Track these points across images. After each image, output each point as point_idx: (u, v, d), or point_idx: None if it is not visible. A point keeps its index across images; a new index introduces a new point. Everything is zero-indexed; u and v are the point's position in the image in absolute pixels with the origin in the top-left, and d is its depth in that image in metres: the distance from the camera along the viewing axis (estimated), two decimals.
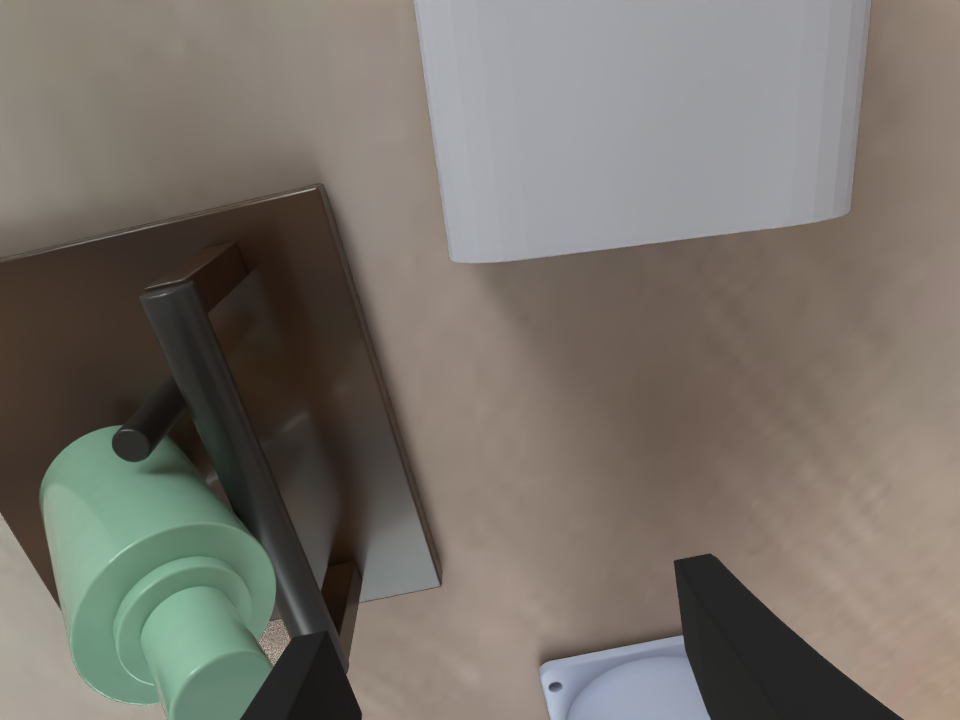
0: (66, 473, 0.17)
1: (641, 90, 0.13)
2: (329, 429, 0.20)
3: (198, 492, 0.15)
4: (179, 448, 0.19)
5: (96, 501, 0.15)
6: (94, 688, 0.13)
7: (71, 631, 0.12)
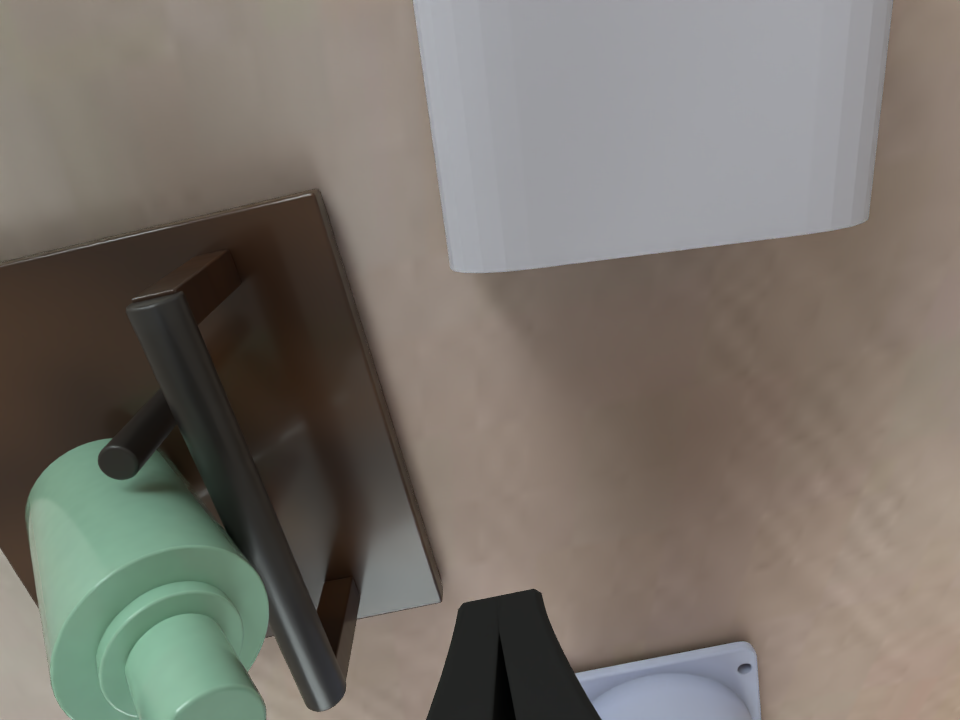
0: (52, 489, 0.16)
1: (651, 92, 0.12)
2: (326, 441, 0.20)
3: (188, 511, 0.15)
4: (171, 462, 0.19)
5: (81, 521, 0.14)
6: None
7: (51, 662, 0.12)
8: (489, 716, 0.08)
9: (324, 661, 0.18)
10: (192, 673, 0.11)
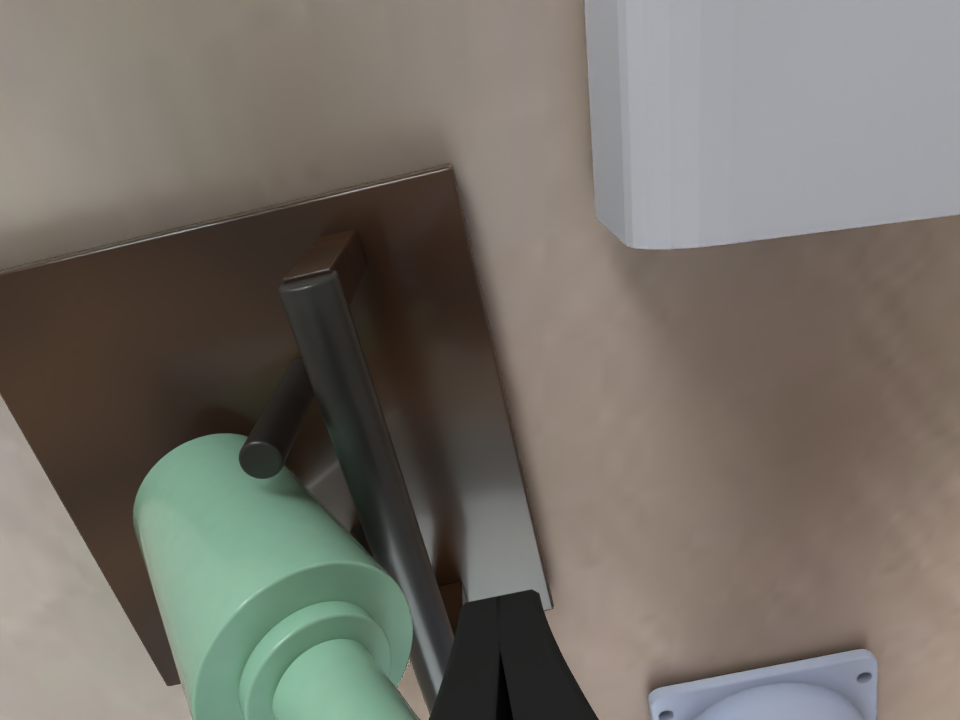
0: (167, 488, 0.15)
1: (882, 44, 0.11)
2: (444, 438, 0.18)
3: (322, 519, 0.13)
4: None
5: (209, 527, 0.13)
6: None
7: (194, 690, 0.10)
8: (492, 716, 0.08)
9: None
10: (362, 715, 0.09)
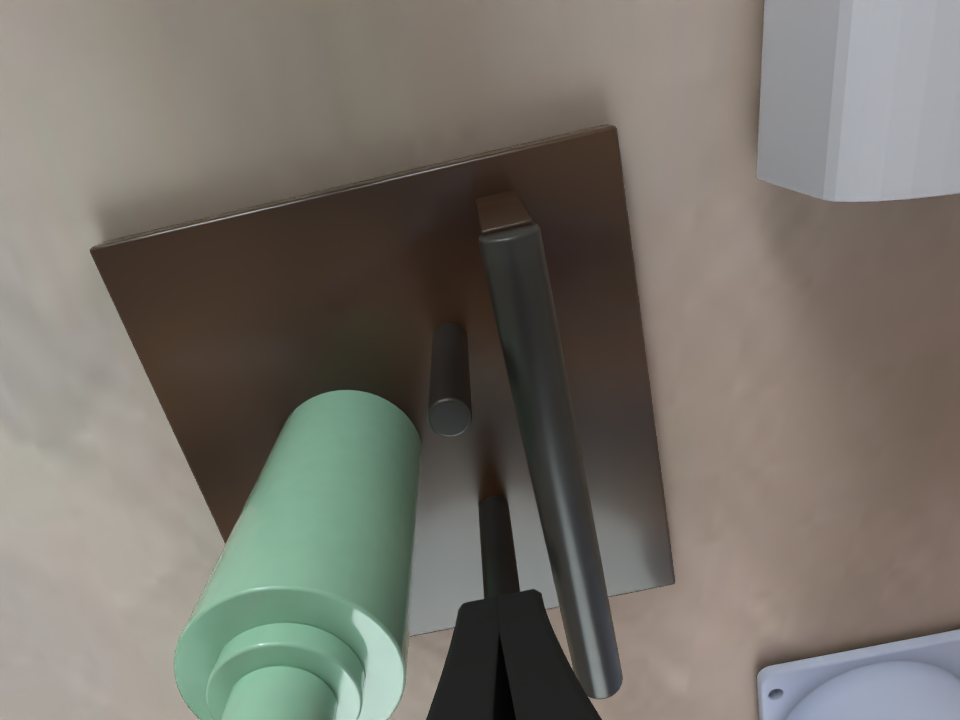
0: (286, 436, 0.16)
1: None
2: (583, 407, 0.18)
3: (360, 528, 0.13)
4: (405, 434, 0.17)
5: (269, 496, 0.13)
6: (195, 713, 0.12)
7: (174, 656, 0.11)
8: (489, 716, 0.08)
9: (613, 644, 0.16)
10: None
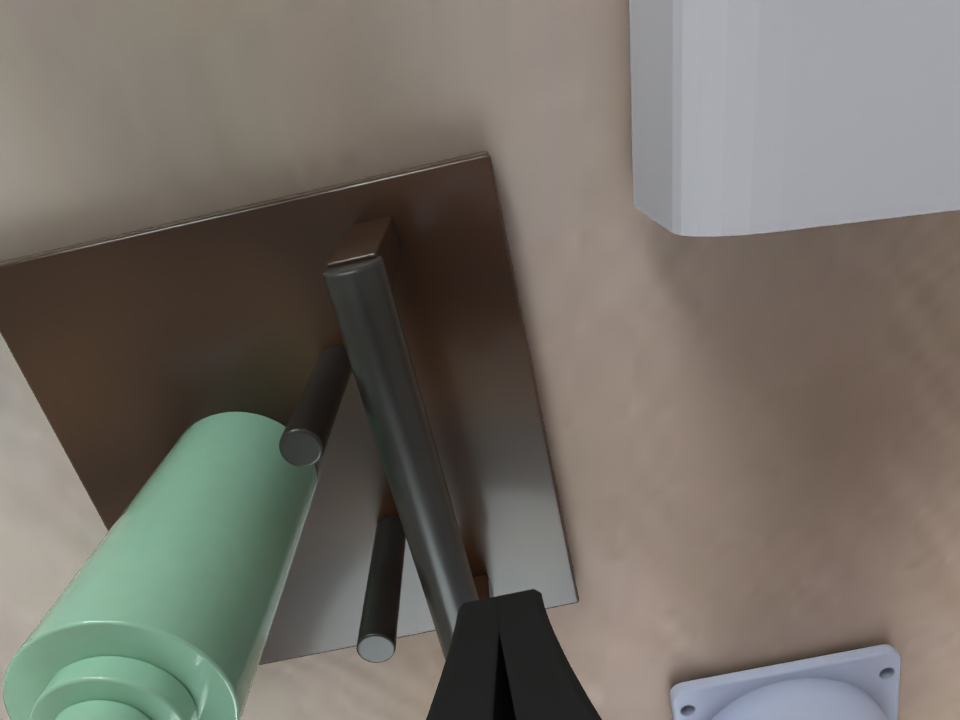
0: (166, 459, 0.16)
1: (942, 28, 0.11)
2: (474, 428, 0.18)
3: (207, 557, 0.13)
4: None
5: (124, 524, 0.13)
6: None
7: None
8: (489, 716, 0.08)
9: None
10: None
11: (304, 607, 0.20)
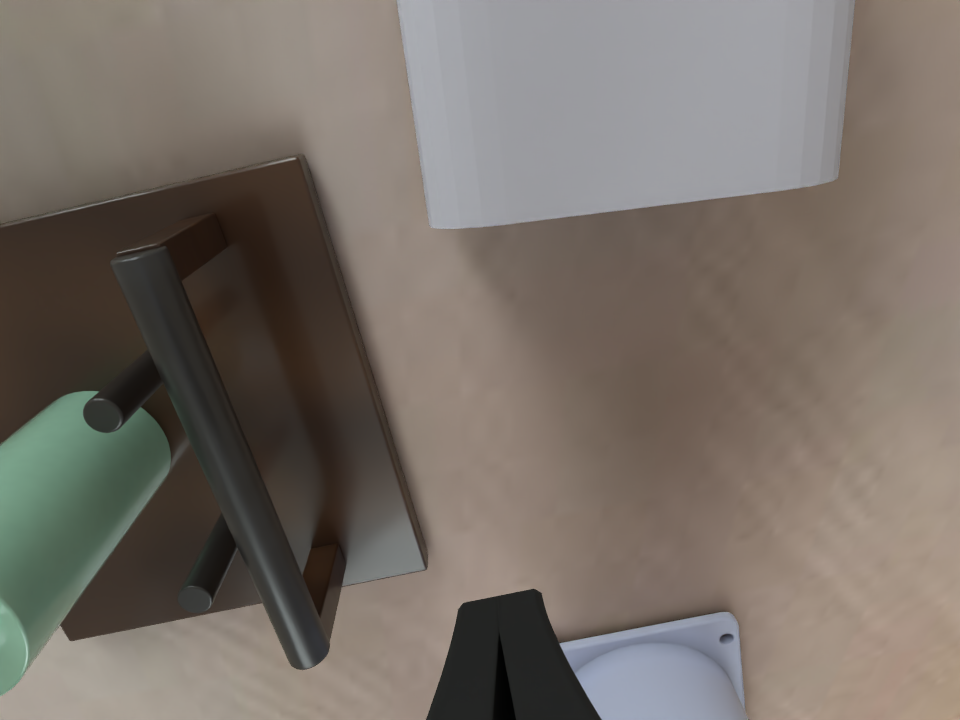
0: (15, 432, 0.18)
1: (623, 48, 0.13)
2: (311, 407, 0.20)
3: (15, 511, 0.14)
4: (135, 431, 0.19)
5: None
6: None
7: None
8: (489, 716, 0.08)
9: (307, 620, 0.18)
10: None
11: (171, 574, 0.22)
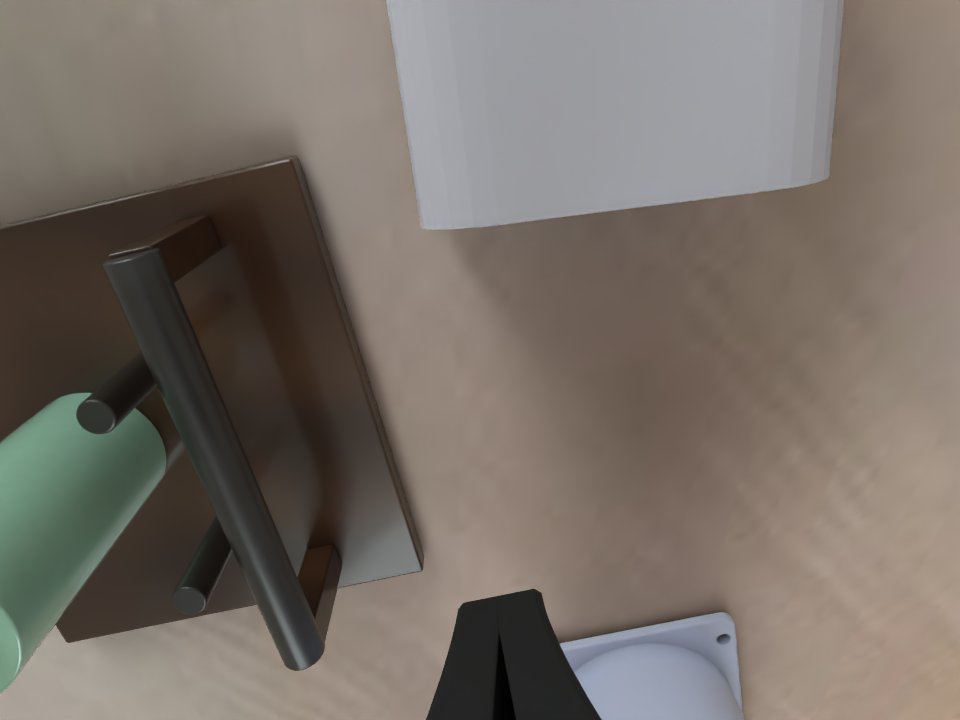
0: (10, 434, 0.18)
1: (612, 49, 0.13)
2: (306, 408, 0.20)
3: (8, 512, 0.14)
4: (130, 433, 0.19)
5: None
6: None
7: None
8: (489, 716, 0.08)
9: (301, 620, 0.18)
10: None
11: (167, 575, 0.22)
